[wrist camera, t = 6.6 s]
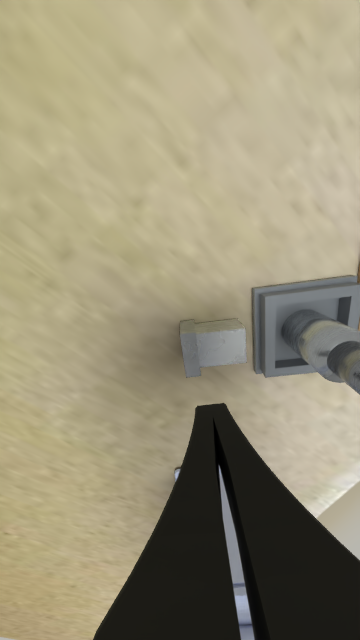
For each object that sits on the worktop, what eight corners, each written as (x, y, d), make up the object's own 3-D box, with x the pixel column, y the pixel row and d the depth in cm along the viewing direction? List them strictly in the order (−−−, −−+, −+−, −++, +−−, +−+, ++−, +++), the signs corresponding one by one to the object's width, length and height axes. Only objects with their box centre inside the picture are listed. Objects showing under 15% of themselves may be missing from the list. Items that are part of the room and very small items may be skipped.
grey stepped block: (185, 358, 19) (186, 377, 16) (180, 321, 18) (179, 334, 15) (239, 352, 19) (248, 370, 16) (237, 314, 18) (247, 326, 15)
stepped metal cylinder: (280, 350, 18) (342, 413, 11) (281, 311, 17) (351, 355, 10) (322, 345, 18) (413, 407, 11) (326, 306, 17) (430, 346, 10)
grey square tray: (254, 370, 20) (260, 381, 18) (252, 288, 17) (259, 292, 15) (340, 361, 19) (356, 372, 17) (351, 275, 17) (371, 277, 15)
